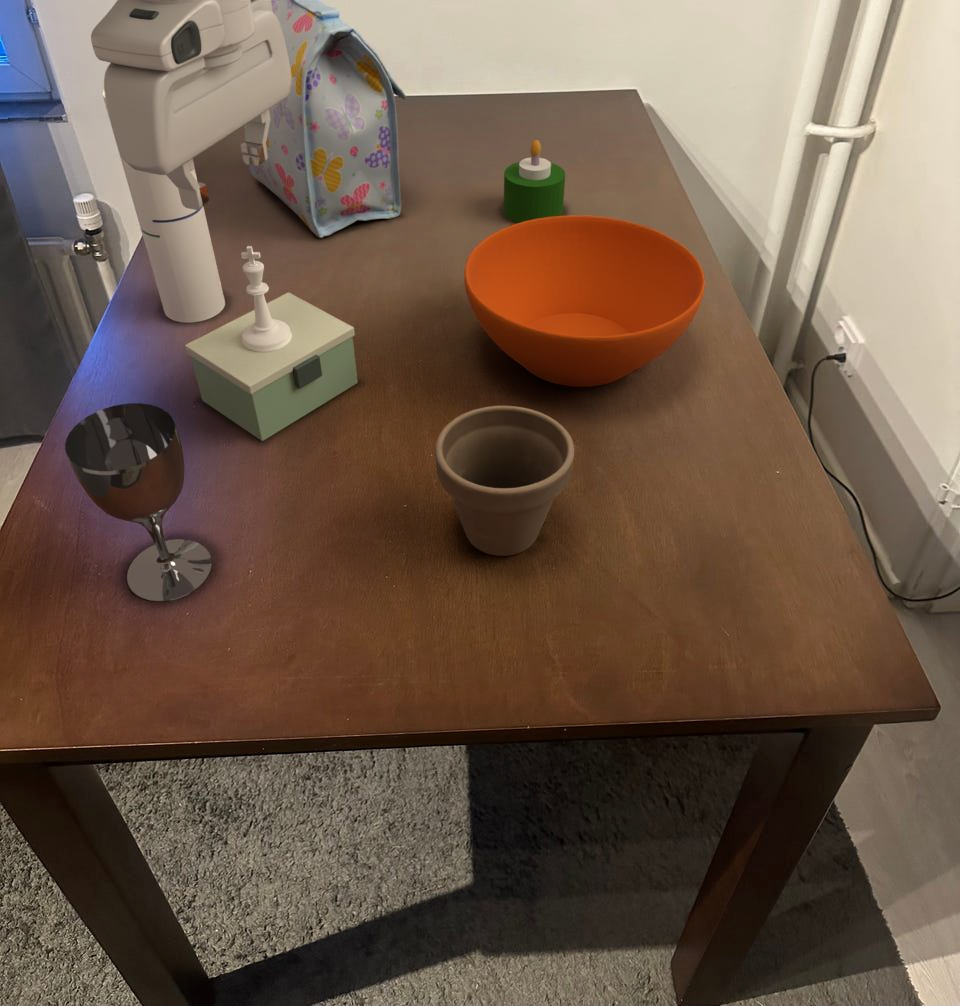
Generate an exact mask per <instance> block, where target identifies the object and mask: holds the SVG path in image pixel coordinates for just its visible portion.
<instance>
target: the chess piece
mask: <svg viewBox="0 0 960 1006" xmlns="http://www.w3.org/2000/svg"><path fill="white" fill-rule="evenodd" d="M245 249H246V251H241V252H240V256H241V259H242V260H243V259H245V260H246V259H247V260H248V261H247V262H245V263H243V265H242V267H241V268H242V269H241V270H242V271H243V273H244V275H245V276H246V278H247V280H248V282H249V284H247V286H246V289H245V291H246V293H247V294H248V295H249V296H253V304H254V305H253V306H254V310H255V322H253V323H251V324H250V325H248V326H247V327H246V328H245V329H244V330H243V332H242V342H243V344H244V346H245V347H246V348H248V349H250V350H253V351H257V352H269V351H274V350H277V349H280V348H282V347H284V346H285V345H287V344H288V343H289V342H290V340H291V338H292V333H291V331H290V328H289V326H288V325H287V324H286V323H284V322H282V321H280V320H275V319H272V318H271V315H270V312H269V309H268V306H267V303H268V302H267V301H266V297H265V294H266V293H268V292H269V289H270V287H269V286H268V285H269V284H267V283H266V282H263V275H264V271H265V265H264V263H263V262H261V261H259V259H261V257H262V256H261V252H260V251H254V250H253V246H252V245H247V246H246V248H245ZM257 259H258V260H257Z"/></svg>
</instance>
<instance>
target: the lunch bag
mask: <svg viewBox="0 0 960 1006" xmlns="http://www.w3.org/2000/svg"><path fill="white" fill-rule="evenodd" d="M271 3H272V10H273V13H274V14H275V15H276V17H277V18H278V20H279V23H280V26H281V29H282V32H283V36H284V40H285V45H286V49H287V54H288V59H289V64H290V70H291V76H292V84H291V89H290V94H289V96H288V97H287V98H285V99H283V100H282V101H280V102H279V103H277V104H276V105H274V106H273V107H271V108H269V112H270V125H269V130H268V136H267V141H266V148H267V155H268V159H267V160H266V161H265V162H263V163H262V164H261V165H259V166H258V167H255V166H253V165H248V167H249V171H250V174H251V176H252V177H253V178H254V179H256V180H257V181H258V182H260V183H261V184H262V185H264V186H265V187H266V188H267V189H268V190H270V192H271V193H273V194H274V195H275V196H277V197H278V198H279V199H280V201H281V202H283V203H284V204H285V205H286V206H287V207H288V208H289V209H290V210H291V211H293V212H294V214H296V215H297V216H298V218H300V220H301V221H302V222H303V223H304V224H305V225H306V226H307V227H308V228H309V230H310V231H311V232H312V233H313V234H314V235H315V236H316V237H318V238H321V239H322V238H324V237H328V236H330V235H332V234H334V233H336V232H338V231H340V230H342V229H344V228H346V227H349V226H350V225H352V224H353V223H355V222H357V221H364V222H366V221H371V220H380V219H381V220H383V219H384V220H386V219H387V220H391V219H393V218H397V217H399V216H400V215H401V211H402V198H401V197H402V196H401V180H400V162H399V133H398V114H397V105H396V99H395V98H396V97H395V96H397V97H398V98H399V99H400V98H401V99H402V100H407V95H406V94H405V93H404V91H403V89H402V88H401V87H400V86H399V85H398V83H397V82H396V80H395V79H394V78H393V77H392V74H391V73H390V71H389V70H388V69H387V66H386V64H385V63H384V62H383V60H382V59H381V57H380V56H379V54H378V52H376V50H375V49H374V48H373V47H372V46H371V45H370V43H368V42H367V41H366V39H365V38H364V37H363V35H361V34H360V32H358V30H357V29H356V28H355V27H353V25H351V24H350V23H347V22H345V21H343V19H341V18H340V10H339V8H338V7H332V6H330V5H328V4H326V3H324V2H323V1H322V0H271ZM245 129H246V124H245V125H244V130H245Z"/></svg>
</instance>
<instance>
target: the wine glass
mask: <svg viewBox="0 0 960 1006" xmlns="http://www.w3.org/2000/svg"><path fill="white" fill-rule="evenodd" d="M64 451H65V453H66V457H67V459H68V461H69V464H70V467H71V469H72V471H73V473H74V474H75V477H76V479H77V481H78V483H79V484H80V486H81V487H82V488H83V491H85V493H86V495H87V496H88V497H89V498H90V499H91V501H92V502H93V503H94V504H95V505H96V506H97V507H98V508H99V509H100V510H101V511H103V512H104V513H105V514H106V515H108V516H110V517H112V518H115V519H118V520H121V521H125V522H131V523H136V524H139V525H140V526H142V527H143V528H144V529H145V530H146V531H147V533H148V534H149V536H150V538H151V539H152V541H153V543H154V544H153V545H151V546H149V547H147V548H146V549H145V550H142V551H141V552H140V553H139V554H138V555H137V556H136V557H135V558H134V559H133V560H132V562H131V564H130V565H129V567H128V570H127V575H126V583H127V585H128V588H129V590H130V591H131V592H132V593H133V594H134V595H135V596H137V597H138V598H140V599H142V600H145V601H148V602H154V603H157V602H159V603H160V602H161V603H164V602H171V601H176V600H178V599H181V598H183V597H186V596H188V595H190V594H191V593H194V592H195V591H196V590H197V589H199V588H200V587H201V586H202V585H203V584H204V583H205V582H206V581H207V579H208V578H209V576H210V574H211V572H212V568H213V559H212V556H211V553H210V551H209V550H208V549H207V548H206V547H205V546H204V545H202V544H200V543H199V542H196V541H194V540H190V539H184V538H183V539H182V538H181V539H180V538H177V539H176V538H175V539H168V540H165V535H164V530H163V529H164V528H163V519H164V517H165V514H166V513H167V512H168V511H169V510H170V509H171V508H172V507H173V506H174V504H175V503H176V501H178V498H179V497H180V495H181V493H182V490H183V488H184V482H185V461H184V460H185V459H184V458H185V457H184V451H183V446H182V441H181V438H180V434H179V431H178V428H177V425H176V423H175V420H174V418H173V416H172V415H171V414H170V413H169V412H168V411H166V410H165V409H163V408H161V407H159V406H157V405H153V404H149V403H142V402H131V403H130V402H129V403H121V404H115V405H111V406H107V407H105V408H102V409H100V410H98V411H95V412H93V413H91V414H89V415H87V416H86V417H85V418H83V419H82V420H80V421H79V422H78V423H77V424H76V425H75V426H73V428H71V430H70V431H69V433H68V435H67V437H66V439H65V443H64Z"/></svg>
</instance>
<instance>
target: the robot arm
mask: <svg viewBox="0 0 960 1006" xmlns="http://www.w3.org/2000/svg"><path fill="white" fill-rule="evenodd" d="M90 41H91V46H92V50H93V52H94V55H95V57H96V58H97V59H98V60H99V61H101V62H105V63H106V62H107V63H109V64H108V66H107V67H106V69H105V71H104V78H103V90H104V91H105V98H106V103H107V107H108V111H109V116H110V119H109V121H110V120H111V123H110V125H111V124H112V126H111V129H112V128H113V130H112V133H113V132H114V133H113V136H114V135H115V137H114V140H115V139H116V140H115V143H116V142H117V144H116V146H117V145H118V147H117V150H118V149H119V151H120V154H121V156H122V158H123V159H124V161H125V162H126V163H127V164H128V165H130V166H131V167H132V168H133V169H135V170H138V171H143V172H147V173H152V174H158V175H167V176H168V178H169V179H170V180H171V181H172V182H173V183H174V185H175V186H176V187H178V190H179V194H180V198H181V203H182V204H183V206H184V207H186V208H189V209H194V210H198V209H199V208H201V207H202V206H203V207H204V206H205V205H207V204H208V203H209V201H210V197H209V195H208V188H207V184H206V183H204V182H200V181H198V180H197V181H198V183H197V181H196V180H195V178H194V177H193V175H192V173H191V171H193V170H194V168H195V169H196V167H195V163H194V158H195V157H197V156H199V155H200V154H201V153H203V152H205V151H206V150H208V149H209V148H211V147H212V146H214V145H215V144H217V143H219V142H220V141H222V140H223V139H224V138H226V137H227V136H230V135H231V134H232V133H234V132H235V131H237V130H238V129H240V128H241V127H243V126H245V124H246V129H245V128H244V142H242V143H241V144H239V146H240V152H241V154H242V157H241V158H242V161H243V163H244V164H245V165H246V166H249V165H253V166H255V167H258V166H259V165H261V164H262V163H263V162H265V161H266V160H267V159H268V155H267V148H266V141H267V136H268V130H269V125H270V112H269V108H271V107H273V106H274V105H276V104H277V103H279V102H280V101H282V100H283V99H285V98H287V97H288V96H289V94H290V89H291V84H292V76H291V70H290V64H289V59H288V54H287V49H286V45H285V40H284V36H283V32H282V29H281V26H280V23H279V20H278V18H277V17H276V15H275V14H274V13H273V10H272V3H271V0H116V1H115V3H114V5H112V7H111V8H110V10H109V11H108V12H107V13H106V14H105V16H104V17H103V18H102V19H101V20H100V21H99V22H98V23H97V24H96V26H94V28H93V30H92V31H91V34H90ZM109 116H108V117H109ZM119 151H118V152H119ZM120 154H119V155H120Z"/></svg>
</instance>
